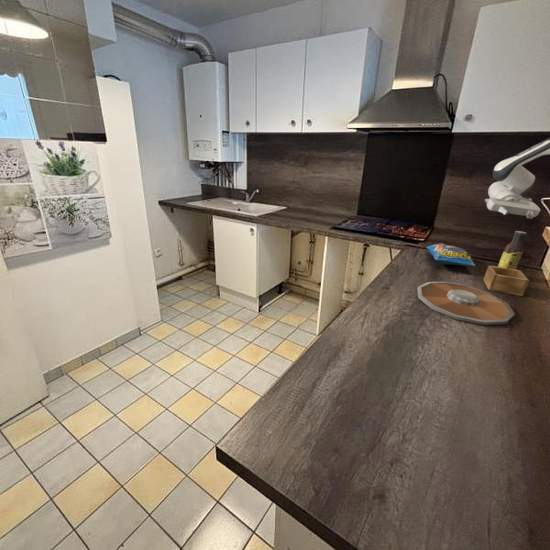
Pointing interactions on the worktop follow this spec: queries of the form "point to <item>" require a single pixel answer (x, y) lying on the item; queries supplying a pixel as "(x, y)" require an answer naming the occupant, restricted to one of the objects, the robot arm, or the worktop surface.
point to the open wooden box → (505, 280)
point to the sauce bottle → (513, 251)
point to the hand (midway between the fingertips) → (518, 215)
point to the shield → (465, 303)
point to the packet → (450, 255)
